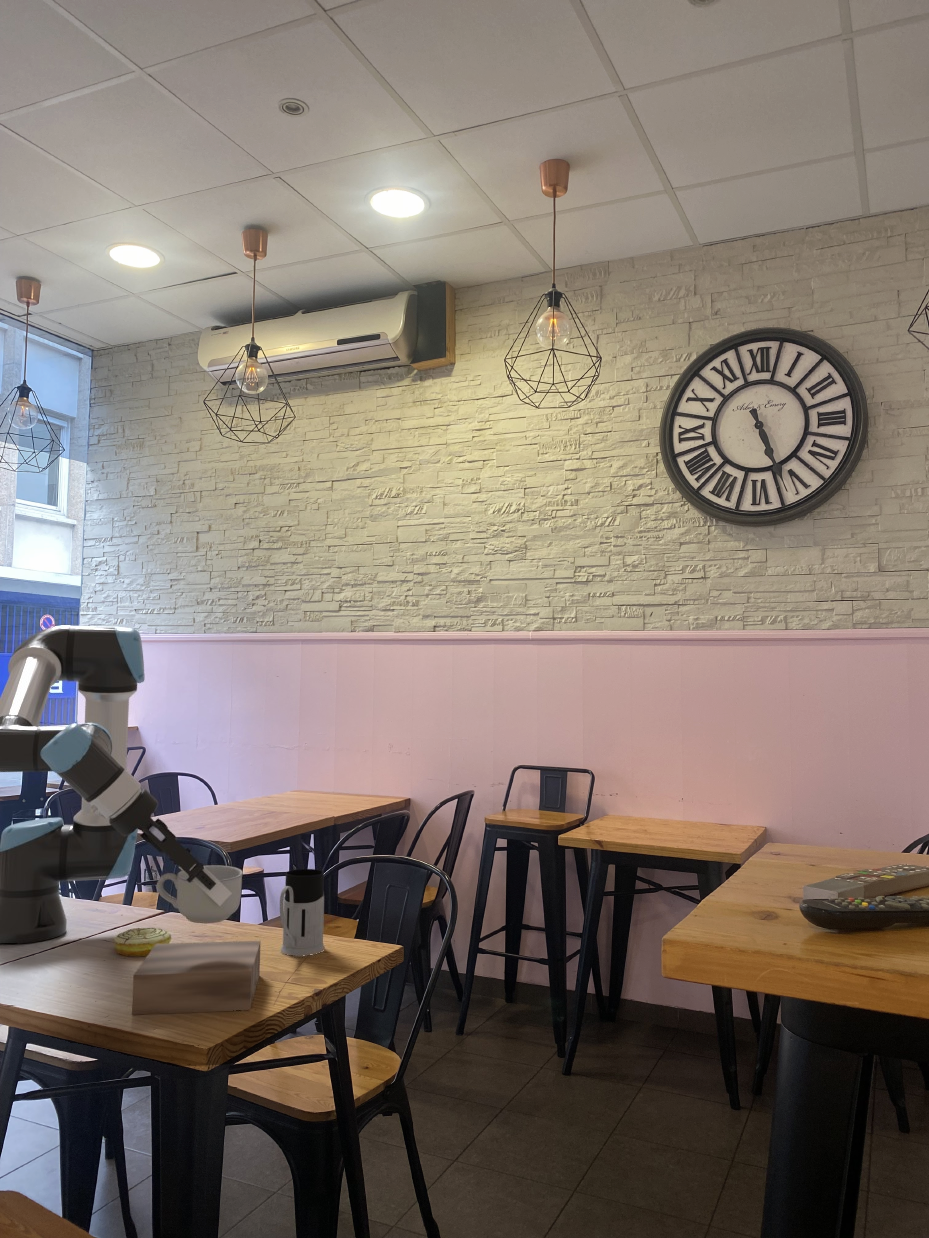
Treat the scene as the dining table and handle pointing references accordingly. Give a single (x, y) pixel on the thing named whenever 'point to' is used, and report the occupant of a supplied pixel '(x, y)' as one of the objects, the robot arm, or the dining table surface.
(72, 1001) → the dining table surface
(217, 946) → the block
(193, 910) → the teacup
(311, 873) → the glass holder
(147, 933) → the decorated donut
